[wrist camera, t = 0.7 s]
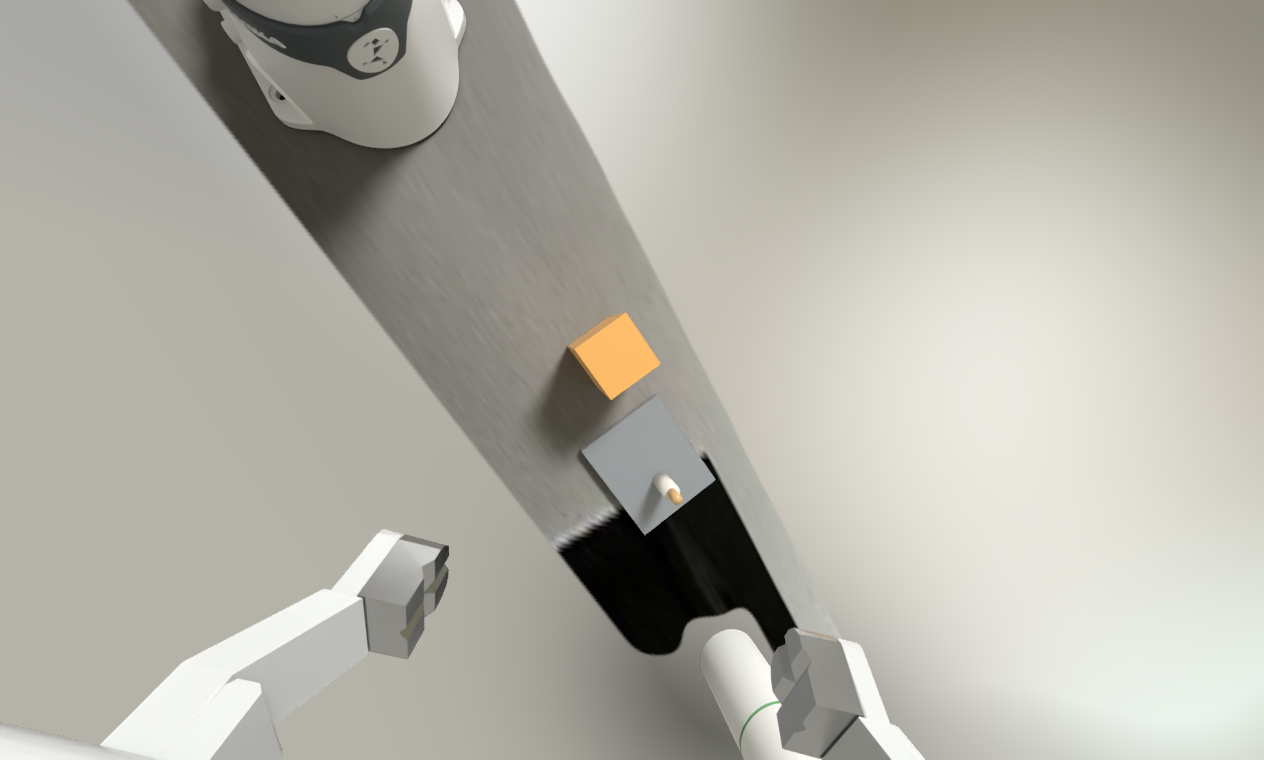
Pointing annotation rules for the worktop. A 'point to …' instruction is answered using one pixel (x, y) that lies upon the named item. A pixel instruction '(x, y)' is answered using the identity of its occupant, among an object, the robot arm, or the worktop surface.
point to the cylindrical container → (745, 695)
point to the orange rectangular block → (614, 354)
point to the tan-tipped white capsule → (667, 488)
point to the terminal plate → (647, 462)
